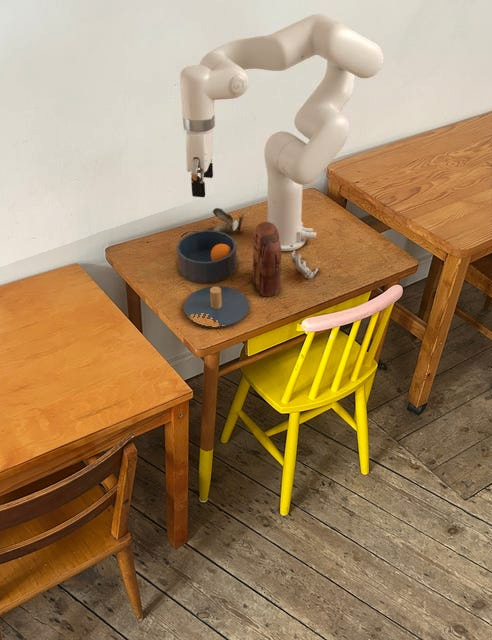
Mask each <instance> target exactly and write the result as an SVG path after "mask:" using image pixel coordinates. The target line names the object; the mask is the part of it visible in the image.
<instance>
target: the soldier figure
mask: <svg viewBox="0 0 492 640" xmlns="http://www.w3.org/2000/svg"><path fill="white" fill-rule="evenodd" d="M295 254H296V249H295V250H292V252H291V254H289V258H292V259H293V260H294V263H295V267H296V271H298V273H300V274H303V276H304V277H305V278H306V279H308V280H309V282H311V281H312V280H314V276H315V275H316V274H317V272H318V271H319V268H318V267H315V270H313V271H311V269H310V268H309V267H308V266H307V263H306V261H305V260H302V257H303V256H302V254H301V253H298V254H297V255H295Z"/></svg>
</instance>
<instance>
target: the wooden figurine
mask: <svg viewBox="0 0 492 640" xmlns="http://www.w3.org/2000/svg"><path fill="white" fill-rule="evenodd" d="M253 243H254V246H253V251H252V283H253V284H254V285H255V288H256V290H257V291H259V293H260V295H261V296H262V297H270V296H275V295H277V294H278V293H279V291H280V284H281V273H282V267H281V266H282V251H281V245H280V241H279V232H278V230H277V228H276V226H275V225H274V224H272V223H270V222H267V221H262V222H260V223H258V224H257V225H256V227H255V231H254V237H253Z"/></svg>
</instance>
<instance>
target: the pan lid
mask: <svg viewBox="0 0 492 640" xmlns="http://www.w3.org/2000/svg"><path fill="white" fill-rule="evenodd" d="M249 306H250V304H249V301H248V298H247V297H246V296H245V295H244V294H243V293H242V292H241V291H239V290H237V289H235V288H233V287H228V286H220V285H216V286H207V287H204V288H200V289H198V290H196V291H194V292H192V293H191V294H190V295H189V296H188V297H187V298H186V300H185V302H184V305H183V310H184V314H185V316H186V317H187V319H188V320H189V321H191V322H192V323H194V324H196V325H198V326H200V327H204V328H209V329H211V328H212V329H216V328H225V327H229V326H233V325H235V324H237V323H239V322H240V321H242V320H243V319H244V318H245V317H246V315H247V314H248V311H249V308H250V307H249ZM201 313H204V314H203V316H202V318H205V316H206V314H209V315H208V317H207V319H210V318H211V317H212V318H213V319H212V320H213V321H214V323H215V322H216V320H218V323H219V325H220V326H218V327H212V326H205V325H201V324H198V323H196V322H194V321H192V320H191V319H190V315H191V314H194V316H193V318H194V317H195V315H196V314H198V317H197V318H199V317H200V315H201ZM188 316H189V317H188ZM222 325H225V326H222Z"/></svg>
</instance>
